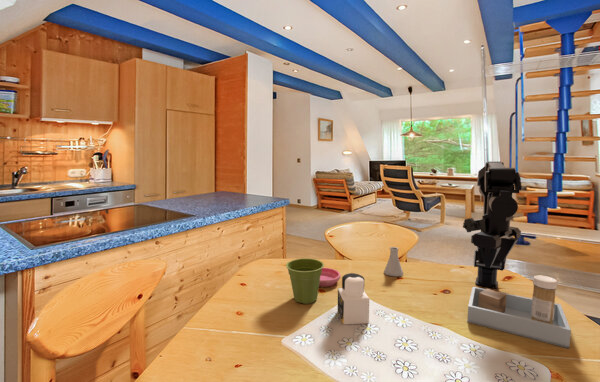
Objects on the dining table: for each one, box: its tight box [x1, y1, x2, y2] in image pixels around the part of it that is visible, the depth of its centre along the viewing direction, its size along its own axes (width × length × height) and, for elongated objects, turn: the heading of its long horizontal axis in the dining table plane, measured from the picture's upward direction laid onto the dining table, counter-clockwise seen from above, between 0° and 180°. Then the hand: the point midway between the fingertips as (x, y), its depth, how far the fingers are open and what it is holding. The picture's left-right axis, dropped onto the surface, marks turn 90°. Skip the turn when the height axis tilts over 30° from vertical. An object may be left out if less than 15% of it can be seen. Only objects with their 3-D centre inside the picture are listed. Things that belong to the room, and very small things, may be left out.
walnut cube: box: [478, 288, 506, 313], centre depth 85 cm, size 5×5×5 cm
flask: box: [383, 246, 404, 277], centre depth 114 cm, size 7×7×10 cm
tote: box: [466, 286, 572, 349], centre depth 80 cm, size 15×21×4 cm
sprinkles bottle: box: [531, 274, 558, 325], centre depth 75 cm, size 5×5×14 cm
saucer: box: [319, 267, 341, 288], centre depth 107 cm, size 12×12×3 cm
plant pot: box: [285, 257, 325, 305], centre depth 93 cm, size 12×12×11 cm
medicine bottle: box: [337, 272, 370, 325], centre depth 82 cm, size 7×7×12 cm
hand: (494, 264), depth 87 cm, fingers open, 9 cm apart
